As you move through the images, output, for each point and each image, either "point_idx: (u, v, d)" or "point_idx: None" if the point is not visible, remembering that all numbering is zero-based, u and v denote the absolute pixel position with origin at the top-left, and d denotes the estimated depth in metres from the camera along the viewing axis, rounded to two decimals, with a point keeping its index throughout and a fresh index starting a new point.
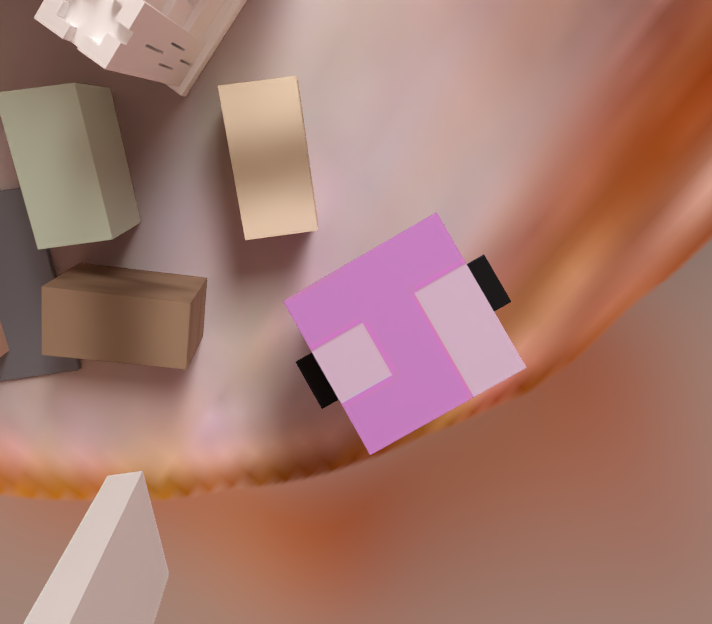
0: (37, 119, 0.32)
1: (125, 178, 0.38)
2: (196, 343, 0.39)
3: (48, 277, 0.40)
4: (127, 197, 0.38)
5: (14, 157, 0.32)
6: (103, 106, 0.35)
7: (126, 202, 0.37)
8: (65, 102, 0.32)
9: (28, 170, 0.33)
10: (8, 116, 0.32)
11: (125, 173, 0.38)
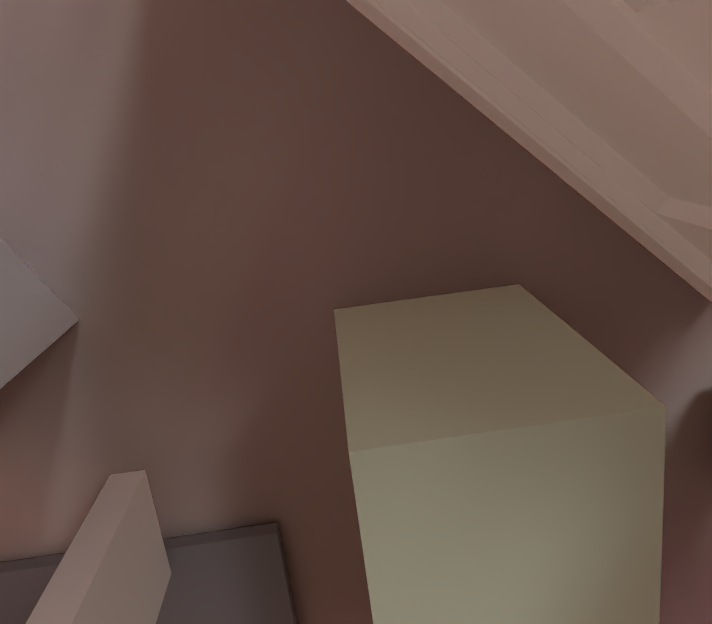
0: (495, 532, 0.08)
1: None
2: None
3: None
4: None
5: None
6: None
7: None
8: (615, 474, 0.08)
9: None
10: (389, 528, 0.08)
11: None
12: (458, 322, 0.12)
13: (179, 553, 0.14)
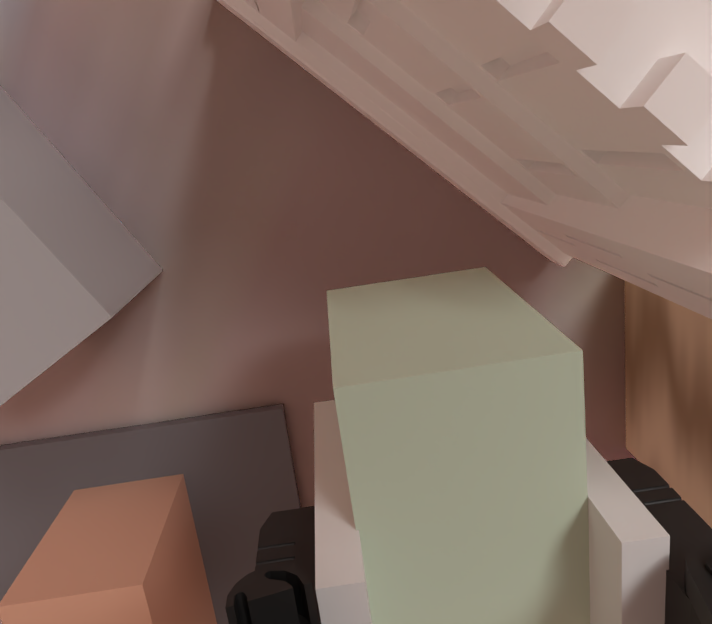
0: (452, 454, 0.10)
1: None
2: None
3: None
4: None
5: (367, 556, 0.11)
6: None
7: None
8: (545, 405, 0.10)
9: (401, 585, 0.11)
10: (366, 451, 0.10)
11: None
12: (430, 298, 0.14)
13: (221, 421, 0.23)
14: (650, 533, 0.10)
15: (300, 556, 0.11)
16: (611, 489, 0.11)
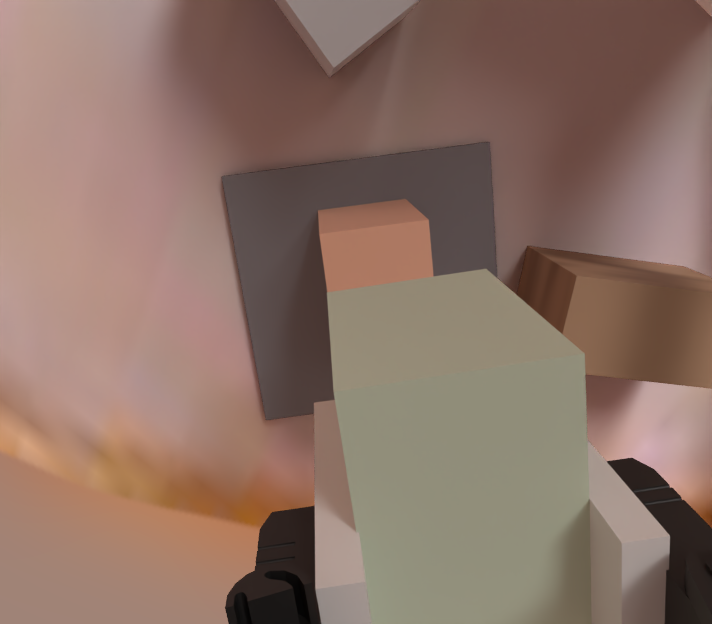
0: (453, 457, 0.10)
1: None
2: None
3: (489, 264, 0.30)
4: None
5: (368, 560, 0.11)
6: None
7: None
8: (546, 409, 0.10)
9: (402, 589, 0.11)
10: (367, 454, 0.10)
11: None
12: (431, 300, 0.14)
13: (439, 152, 0.28)
14: (650, 533, 0.10)
15: (300, 556, 0.11)
16: (611, 489, 0.11)
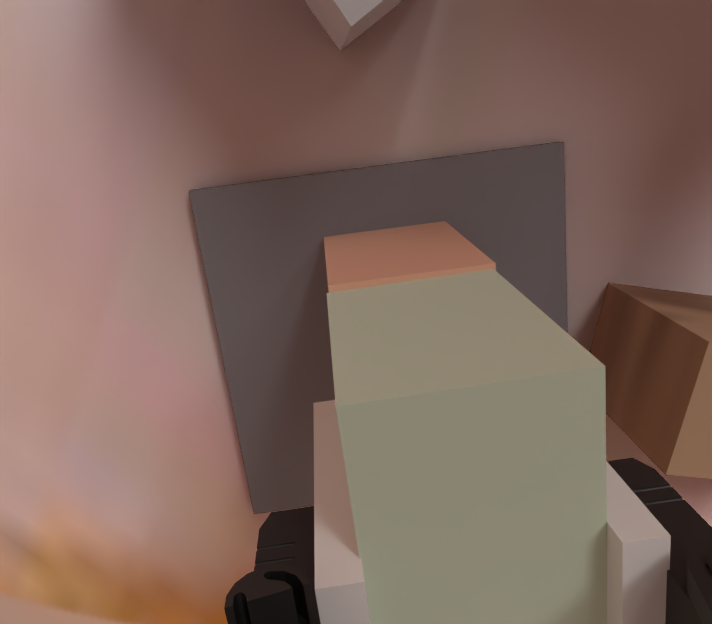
0: (462, 475, 0.10)
1: None
2: None
3: (558, 309, 0.22)
4: None
5: (371, 582, 0.10)
6: None
7: None
8: (562, 424, 0.10)
9: (406, 612, 0.10)
10: (371, 472, 0.10)
11: None
12: (437, 303, 0.13)
13: (494, 157, 0.20)
14: (651, 533, 0.10)
15: (299, 556, 0.11)
16: (611, 489, 0.11)
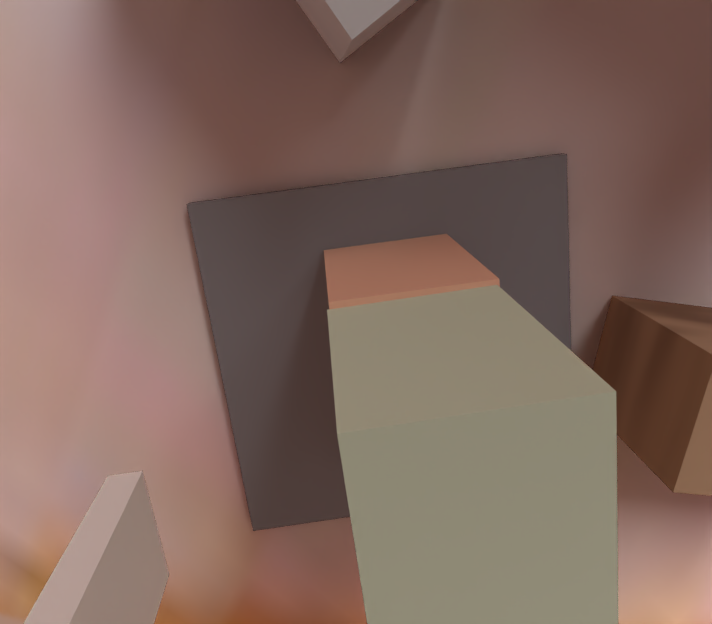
0: (468, 504, 0.09)
1: None
2: None
3: (561, 322, 0.22)
4: None
5: (374, 615, 0.10)
6: None
7: None
8: (572, 451, 0.09)
9: None
10: (374, 501, 0.09)
11: None
12: (441, 321, 0.13)
13: (496, 169, 0.20)
14: None
15: None
16: None
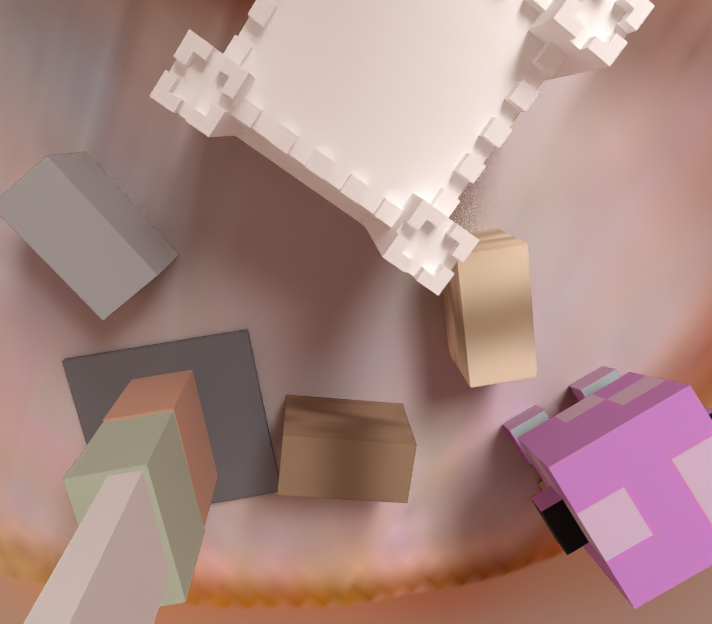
0: None
1: (190, 500, 0.36)
2: None
3: (258, 409, 0.42)
4: (193, 521, 0.36)
5: None
6: (169, 446, 0.34)
7: (193, 529, 0.36)
8: None
9: None
10: (77, 499, 0.30)
11: (190, 494, 0.36)
12: (133, 431, 0.34)
13: (212, 339, 0.41)
14: None
15: None
16: None
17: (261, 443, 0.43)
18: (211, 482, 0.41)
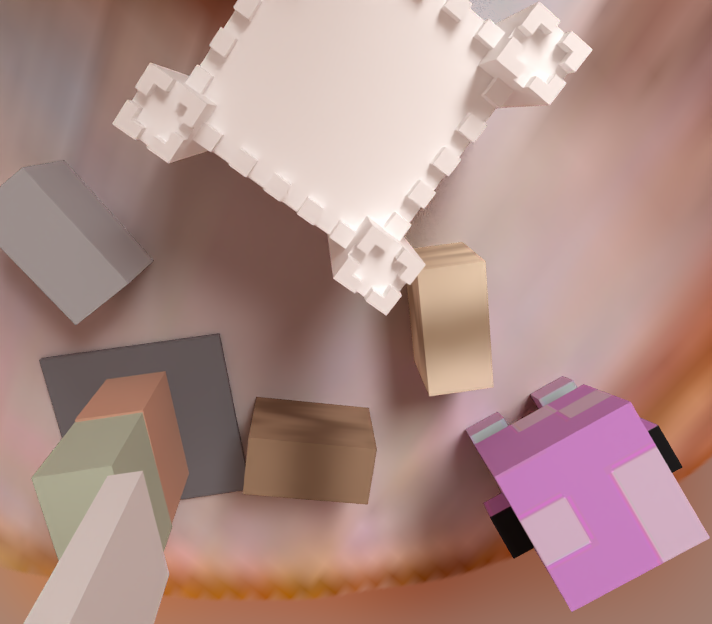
0: (74, 498, 0.32)
1: (158, 497, 0.38)
2: None
3: (229, 410, 0.44)
4: (160, 518, 0.37)
5: (51, 531, 0.32)
6: (137, 446, 0.35)
7: (159, 526, 0.37)
8: (102, 482, 0.32)
9: (65, 541, 0.33)
10: (45, 497, 0.32)
11: (157, 492, 0.38)
12: (102, 432, 0.35)
13: (185, 342, 0.42)
14: None
15: None
16: None
17: (231, 443, 0.45)
18: (181, 479, 0.43)
